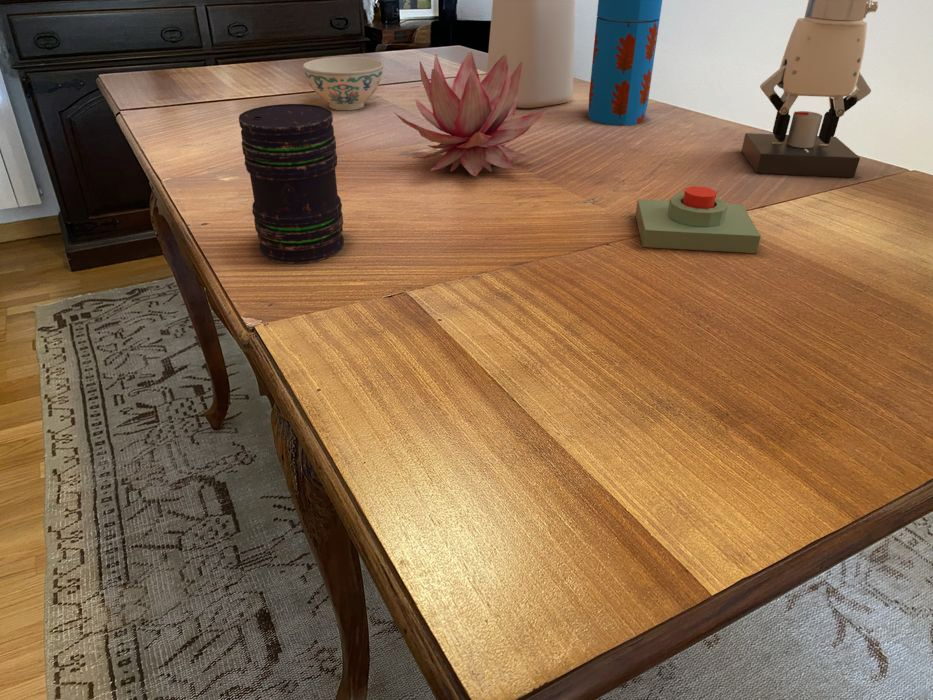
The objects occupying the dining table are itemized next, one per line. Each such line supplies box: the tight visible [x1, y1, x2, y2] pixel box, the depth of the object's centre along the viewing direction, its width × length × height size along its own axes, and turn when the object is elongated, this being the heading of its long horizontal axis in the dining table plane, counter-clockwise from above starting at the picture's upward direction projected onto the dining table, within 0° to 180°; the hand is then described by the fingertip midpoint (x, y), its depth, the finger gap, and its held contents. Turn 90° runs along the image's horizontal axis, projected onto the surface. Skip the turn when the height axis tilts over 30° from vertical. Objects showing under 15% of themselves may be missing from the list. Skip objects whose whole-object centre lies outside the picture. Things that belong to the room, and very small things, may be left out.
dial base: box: [741, 132, 861, 178], centre depth 109 cm, size 14×11×3 cm
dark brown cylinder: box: [238, 103, 345, 265], centre depth 78 cm, size 10×10×15 cm
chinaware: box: [302, 56, 384, 111], centre depth 136 cm, size 15×15×8 cm
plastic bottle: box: [485, 0, 576, 109], centre depth 136 cm, size 15×15×28 cm
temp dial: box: [786, 110, 823, 148], centre depth 107 cm, size 4×4×5 cm
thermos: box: [587, 0, 663, 126], centre depth 125 cm, size 11×11×25 cm
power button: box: [683, 185, 717, 209], centre depth 84 cm, size 4×4×2 cm
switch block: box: [635, 192, 762, 254], centre depth 85 cm, size 13×10×4 cm
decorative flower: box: [394, 51, 547, 177], centre depth 103 cm, size 21×21×15 cm
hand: (801, 139), depth 107 cm, fingers open, 5 cm apart
